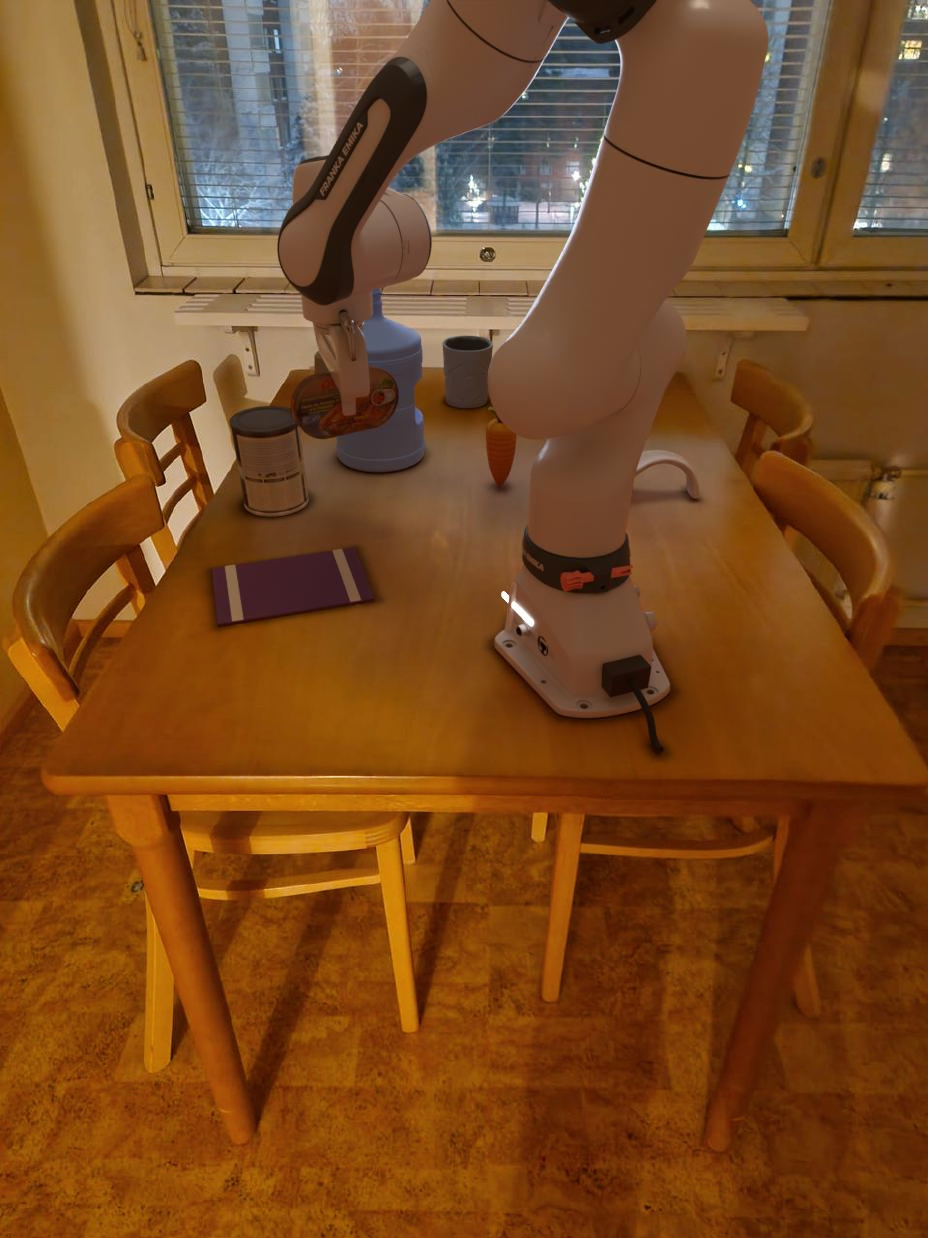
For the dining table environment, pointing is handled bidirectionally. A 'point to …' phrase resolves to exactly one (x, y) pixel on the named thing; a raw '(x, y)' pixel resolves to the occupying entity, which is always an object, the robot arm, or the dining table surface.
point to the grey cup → (466, 370)
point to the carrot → (499, 449)
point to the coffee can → (270, 460)
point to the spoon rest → (671, 458)
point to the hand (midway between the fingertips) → (345, 407)
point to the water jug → (405, 429)
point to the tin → (322, 409)
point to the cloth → (289, 586)
